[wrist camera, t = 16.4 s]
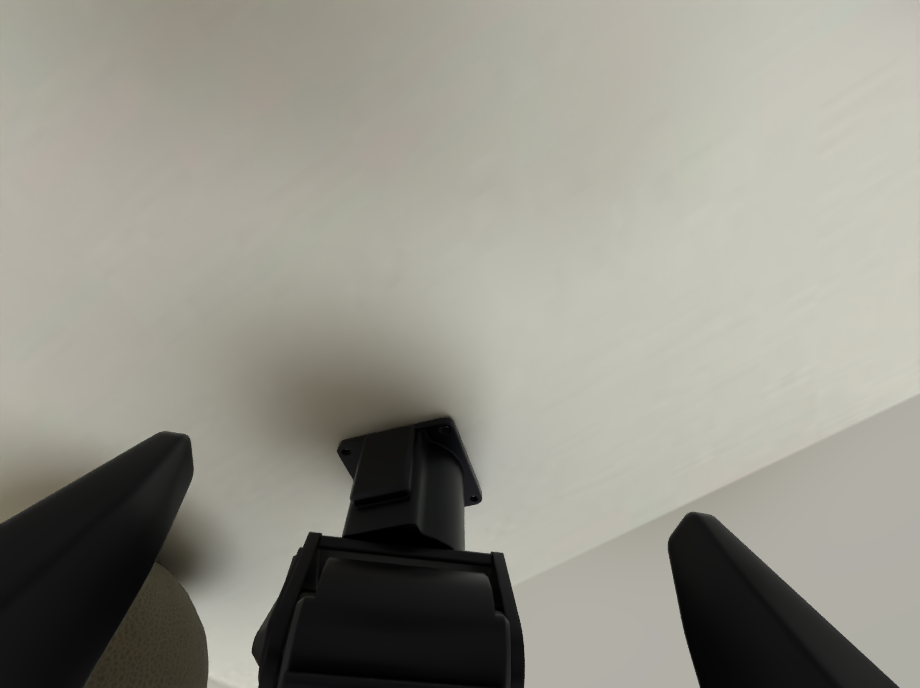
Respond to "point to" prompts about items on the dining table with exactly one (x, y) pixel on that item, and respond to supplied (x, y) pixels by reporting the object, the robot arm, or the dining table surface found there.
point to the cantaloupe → (156, 641)
